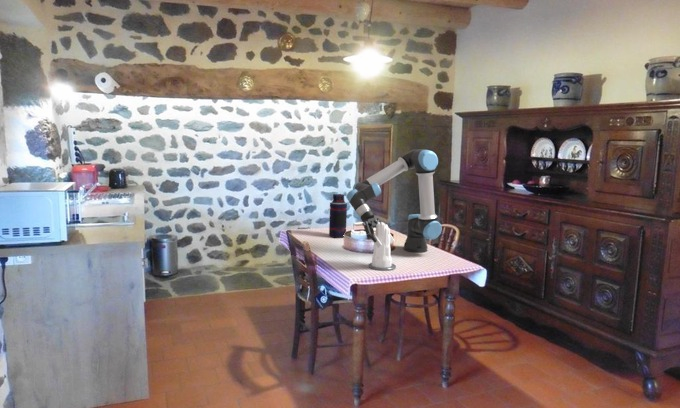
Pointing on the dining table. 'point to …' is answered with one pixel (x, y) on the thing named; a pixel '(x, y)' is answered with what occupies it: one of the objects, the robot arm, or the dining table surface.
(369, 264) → the disc
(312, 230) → the dining table surface
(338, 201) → the black thermos flask
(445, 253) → the dining table surface
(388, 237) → the decorative vase
